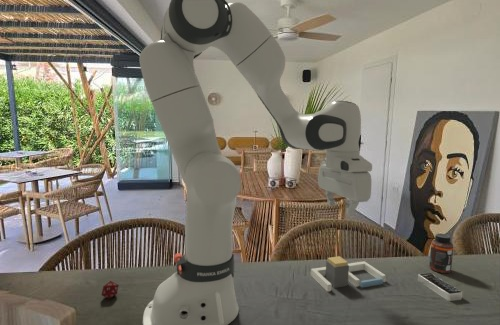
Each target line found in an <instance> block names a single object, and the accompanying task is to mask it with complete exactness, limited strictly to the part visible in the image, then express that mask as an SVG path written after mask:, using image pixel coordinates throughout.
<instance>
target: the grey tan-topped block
mask: <svg viewBox="0 0 500 325" xmlns="http://www.w3.org/2000/svg"><path fill="white" fill-rule="evenodd" d="M325 262H326V263H325V264H326V265H325V267H326V276H325V279H326V280H328V281H329V282H330V283H331V284H332V286H331V288H332V289H335V288H342V287H343V288H344V287H347V286H348V285H349V281H348V273H349V265H348V264H349V262H348V261H347V260H345V259H344V258H343V257H342V256H332V257H327V260H325Z"/></svg>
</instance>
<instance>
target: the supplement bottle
mask: <svg viewBox="0 0 500 325" xmlns="http://www.w3.org/2000/svg"><path fill="white" fill-rule="evenodd" d="M429 251H430V252H429V265H428V266H429V268H430V269H431V270H432V271H434V272H436V273H440V274H441V273H442V274H449V273H451V272H452V265H453V256H454V244H453V243H452V242H451V236H450V235H449V234H447V233H446V234H445V233H435V237H434V239H433V240H432V241H431V242H430V250H429Z"/></svg>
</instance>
